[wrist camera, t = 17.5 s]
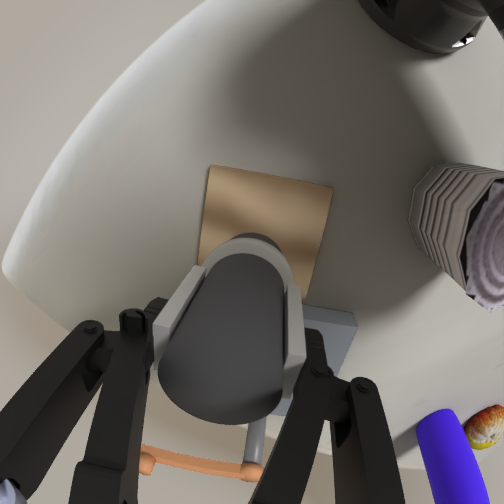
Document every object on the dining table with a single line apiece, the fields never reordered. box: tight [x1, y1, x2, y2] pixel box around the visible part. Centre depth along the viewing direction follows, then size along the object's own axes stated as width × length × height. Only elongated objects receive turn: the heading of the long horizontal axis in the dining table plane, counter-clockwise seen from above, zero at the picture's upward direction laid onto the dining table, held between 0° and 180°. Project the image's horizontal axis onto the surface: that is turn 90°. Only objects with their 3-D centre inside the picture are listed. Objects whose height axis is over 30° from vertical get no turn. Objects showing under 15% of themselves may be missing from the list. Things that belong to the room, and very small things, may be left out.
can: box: [408, 163, 504, 313], centre depth 21 cm, size 11×11×12 cm
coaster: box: [197, 165, 334, 299], centre depth 30 cm, size 12×12×1 cm
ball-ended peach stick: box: [139, 444, 264, 482], centre depth 23 cm, size 13×3×3 cm, turn 86°
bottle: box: [416, 409, 490, 504], centre depth 24 cm, size 8×8×30 cm
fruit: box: [463, 405, 504, 450], centre depth 36 cm, size 11×10×8 cm
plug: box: [158, 232, 294, 425], centre depth 17 cm, size 6×6×13 cm
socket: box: [242, 304, 358, 465], centre depth 29 cm, size 16×16×13 cm
